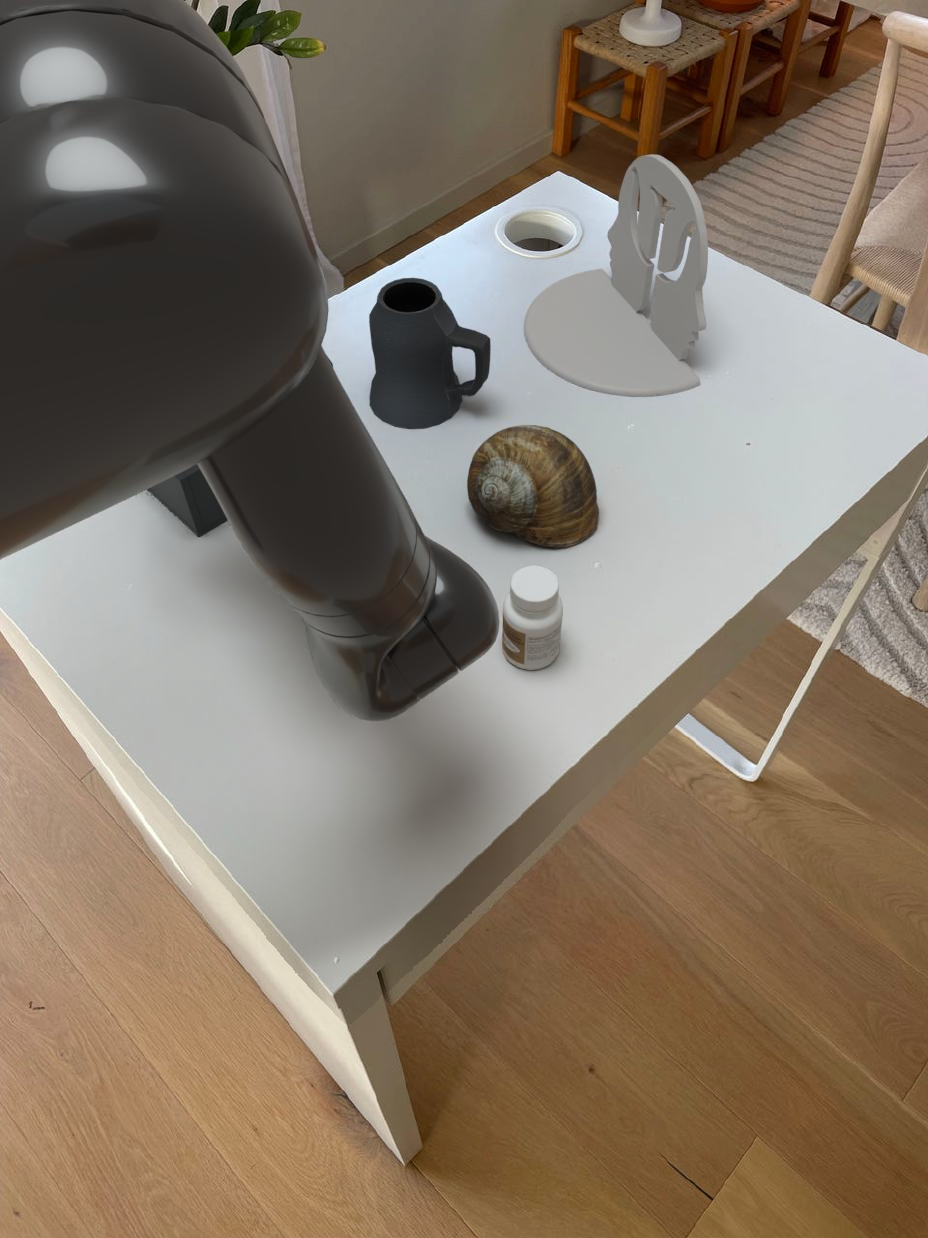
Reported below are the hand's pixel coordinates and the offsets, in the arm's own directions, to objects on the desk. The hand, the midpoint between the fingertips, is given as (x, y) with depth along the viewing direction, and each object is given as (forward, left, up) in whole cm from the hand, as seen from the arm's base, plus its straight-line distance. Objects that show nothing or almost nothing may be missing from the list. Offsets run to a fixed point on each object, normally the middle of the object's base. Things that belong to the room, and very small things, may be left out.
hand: (192, 337), depth 71 cm
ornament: (+40, +3, -17) cm, 44 cm away
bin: (0, +5, -17) cm, 18 cm away
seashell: (+21, -15, -17) cm, 31 cm away
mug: (+21, +3, -17) cm, 27 cm away
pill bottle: (+13, -27, -17) cm, 34 cm away
